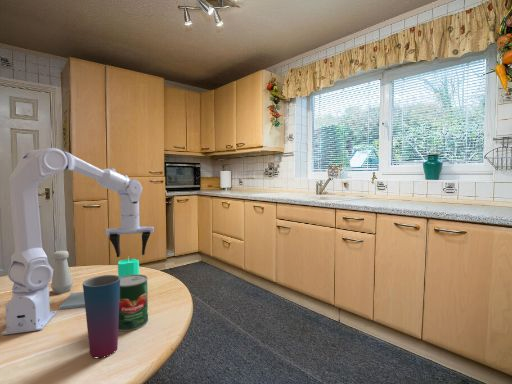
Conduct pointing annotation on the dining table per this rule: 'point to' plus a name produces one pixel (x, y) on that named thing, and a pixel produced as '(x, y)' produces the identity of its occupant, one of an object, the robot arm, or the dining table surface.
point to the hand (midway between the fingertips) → (131, 255)
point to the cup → (102, 313)
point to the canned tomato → (133, 302)
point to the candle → (128, 267)
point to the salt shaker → (61, 273)
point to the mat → (74, 301)
